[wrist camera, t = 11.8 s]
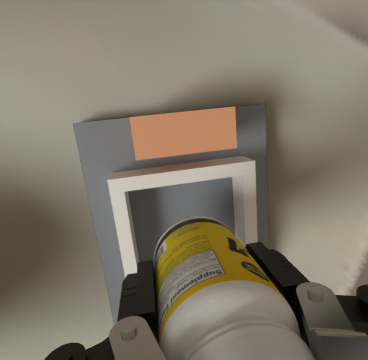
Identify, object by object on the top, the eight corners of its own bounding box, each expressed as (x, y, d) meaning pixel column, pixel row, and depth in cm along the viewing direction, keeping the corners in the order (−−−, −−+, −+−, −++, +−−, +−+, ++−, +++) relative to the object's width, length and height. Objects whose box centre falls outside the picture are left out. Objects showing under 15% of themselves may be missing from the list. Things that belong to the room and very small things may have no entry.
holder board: (79, 122, 16) (48, 125, 11) (255, 104, 18) (303, 99, 13) (137, 416, 23) (136, 506, 18) (263, 385, 24) (296, 459, 19)
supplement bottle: (250, 263, 15) (378, 438, 7) (180, 305, 15) (225, 532, 7) (212, 197, 13) (316, 315, 5) (135, 243, 13) (123, 431, 5)
